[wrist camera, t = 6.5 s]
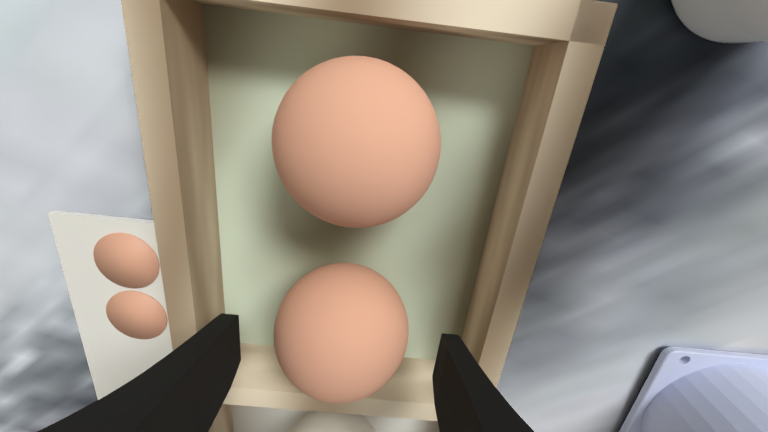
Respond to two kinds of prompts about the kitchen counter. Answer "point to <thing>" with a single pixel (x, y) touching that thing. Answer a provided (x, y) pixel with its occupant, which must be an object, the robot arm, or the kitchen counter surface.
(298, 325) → the terracotta ball
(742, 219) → the kitchen counter surface
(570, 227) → the kitchen counter surface
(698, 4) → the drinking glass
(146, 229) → the card
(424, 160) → the ball
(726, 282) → the kitchen counter surface
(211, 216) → the two-well rack
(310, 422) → the cream ball
